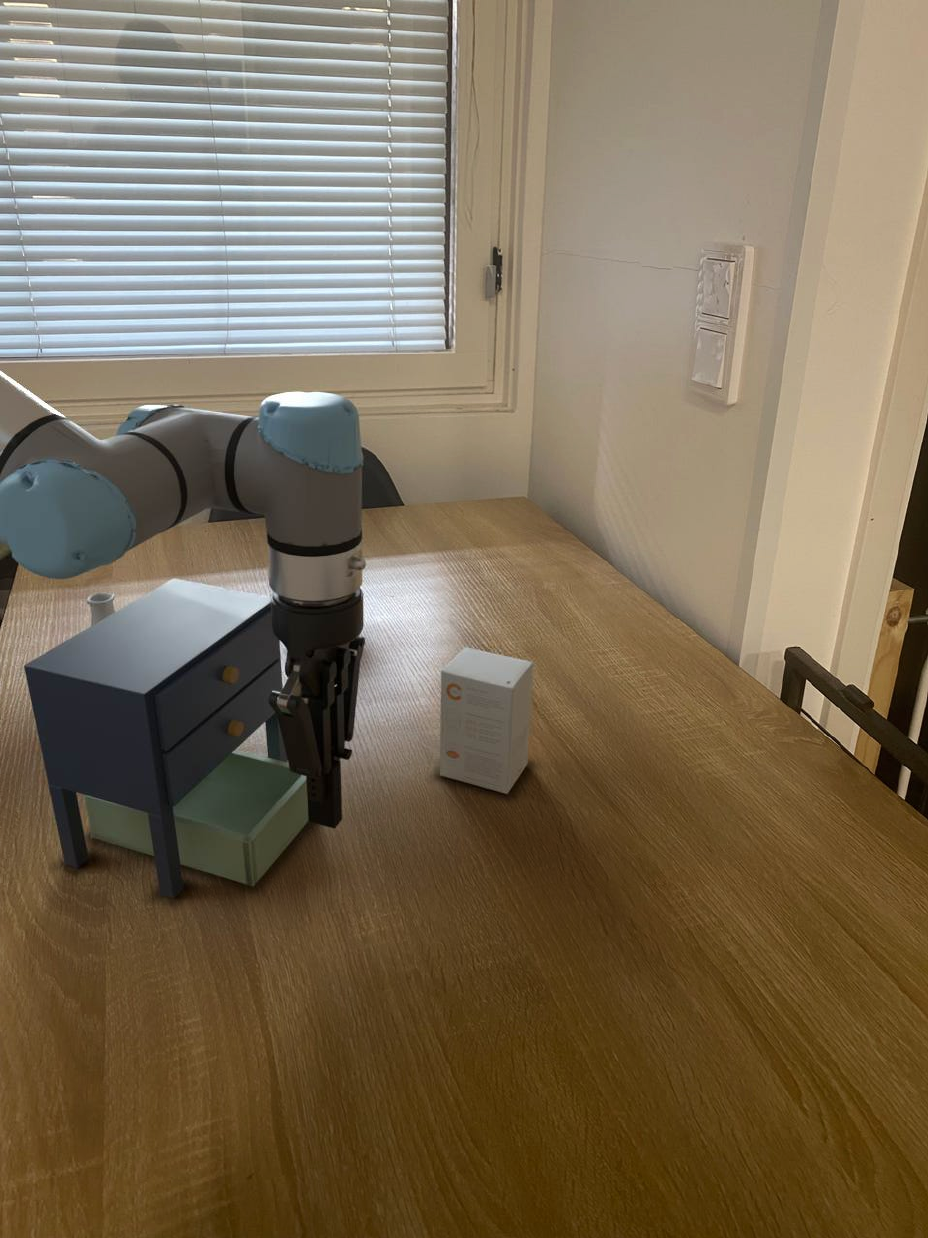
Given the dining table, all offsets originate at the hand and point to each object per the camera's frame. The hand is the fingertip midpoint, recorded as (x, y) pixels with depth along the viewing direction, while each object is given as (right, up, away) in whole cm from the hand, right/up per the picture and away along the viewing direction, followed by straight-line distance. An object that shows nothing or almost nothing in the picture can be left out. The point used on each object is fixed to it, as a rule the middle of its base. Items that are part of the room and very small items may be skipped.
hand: (325, 820), depth 84 cm
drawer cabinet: (-15, -1, +6) cm, 16 cm away
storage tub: (-12, -2, +5) cm, 14 cm away
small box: (+15, +2, +15) cm, 21 cm away
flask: (-33, +12, +33) cm, 48 cm away
